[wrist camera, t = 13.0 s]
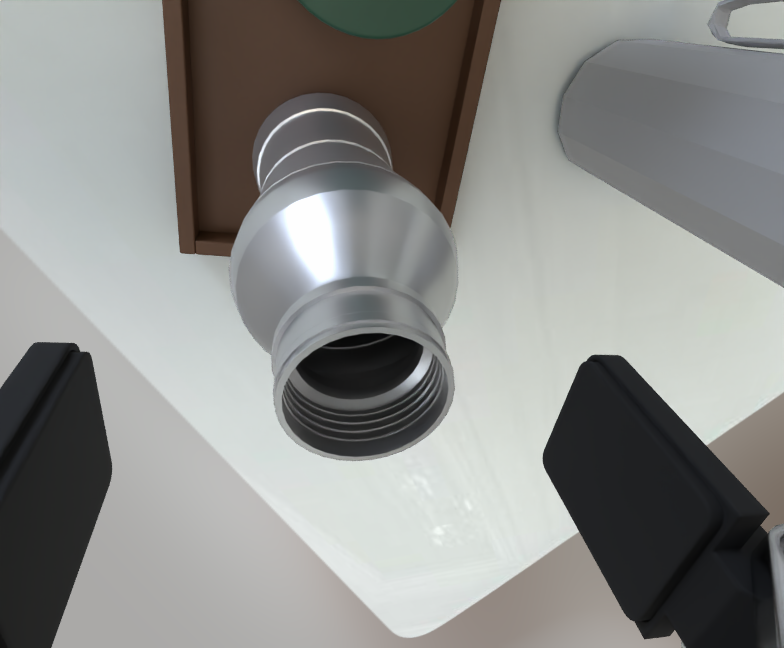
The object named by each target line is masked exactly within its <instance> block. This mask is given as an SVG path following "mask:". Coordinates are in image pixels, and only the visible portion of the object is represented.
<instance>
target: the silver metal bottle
mask: <svg viewBox="0 0 784 648" xmlns="http://www.w3.org/2000/svg"><path fill="white" fill-rule="evenodd" d="M252 160H253V171H254V175H255V178H256V182H257V186H258V189H259V192H260V196H259V198H258V199H257V201H256V202H255V203H254V205H253V206H252V208H251V209H250V211H249V212H248V214H247V215H246V216H245V218H244V220H243V222H242V225H241V227H240V230H239V232H238V235H237V237H236V240H235V242H234V245H233V247H232V251H231V258H230V265H229V277H230V287H231V292H232V295H233V298H234V301H235V304H236V307H237V309H238V312H239V314H240V316H241V318H242V320H243V323H244V324H245V326H246V327H247V329H248V331H249V332H250V334H251V335H252V337H253V339H254V340H255V341H256V342H257V343H258V344H259V345H260V346H261V347H262V348H263V349H264V350H265V351H266V352H267V353H269V354H270V355H271V361H272V372H273V375H274V388H273V397H274V406H275V412H276V415H277V417H278V420H279V423H280V425H281V426H282V428H283V429H284V431H285V432H286V434H287V435H288V436H289V437H290V438H291V439H292V440H293V441H294V442H295V443H297V444H298V445H300V446H301V447H303V448H305V449H306V450H308V451H309V452H312V453H315V454H317V455H320V456H323V457H327V458H331V459H336V460H346V461H362V460H373V459H378V458H382V457H387V456H390V455H393V454H396V453H399V452H402V451H404V450H406V449H408V448H410V447H412V446H413V445H415V444H417V443H418V442H420V441H421V440H423V439H424V438H426V437H427V436H428V435H429V434H430V433H431V432H432V431H434V430H435V429H436V428H437V427H438V426H439V424H440V423H441V422H442V420H443V419H444V417H445V416H446V415H447V413H448V410H449V408H450V406H451V404H452V401H453V396H454V390H455V386H454V374H453V368H452V365H451V362H450V359H449V356H448V354H447V352H446V344H445V336H444V333H443V330H442V327H443V326H444V324H445V323H446V321H447V319H448V318H449V315H450V313H451V310H452V308H453V305H454V303H455V299H456V293H457V287H458V257H457V248H456V244H455V241H454V237H453V234H452V231H451V229H450V227H449V225H448V224H447V222H446V220H445V218H444V217H443V215H442V213H441V212H440V211H439V210H438V209H437V208H436V207H435V205H434V204H433V203H432V202H431V201H430V200H429V199H428V198H427V197H426V196H425V195H424V194H423V193H422V192H421V191H420V189H418V188H417V187H415V186H414V185H413V184H411V183H410V182H408V181H407V180H406V179H404V178H403V177H401V176H400V175H398V174H397V173H395V172H394V171H393V164H392V156H391V149H390V145H389V142H388V139H387V136H386V134H385V132H384V130H383V129H382V127H381V125H380V123H379V122H378V121H377V120H376V119H375V117H374V116H373V115H372V114H371V113H370V112H369V111H368V110H366V109H365V108H364V107H363V106H361V105H360V104H359V103H357V102H354V101H352V100H350V99H348V98H346V97H343V96H339V95H335V94H332V93H312V94H305V95H301V96H298V97H295V98H293V99H290V100H288V101H286V102H285V103H283V104H282V105H280V106H279V107H277V108H276V109H275V110H274V111H273V112H272V113H271V114H270V115H269V116H268V117H267V118H266V119H265V121H264V123H263V124H262V126H261V127H260V129H259V131H258V134H257V136H256V139H255V142H254V147H253V154H252Z"/></svg>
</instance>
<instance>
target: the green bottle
mask: <svg viewBox="0 0 784 648" xmlns="http://www.w3.org/2000/svg"><path fill="white" fill-rule="evenodd" d="M297 1H299V2H300V3H301V4H302V5H303V6H304V7H305V8H306V9H307V10H308V11H309V12H310V13H311V14H313V15H314V16H315V17H317V18H318V19H319V20H320V21H322V22H323V23H325V24H327V25H329V26H330V27H332V28H334V29H336V30H338V31H341V32H343V33H346V34H348V35H352V36H356V37H360V38H367V39H392V38H396V37H401V36H405V35H408V34H411V33H413V32H416V31H418V30H420V29H422V28H424V27H426V26H428V25H429V24H431V23H433V22H434V21H435V20H437V19H438V18H439V17H441V16H442V15H443V14H444V13H445V12H446V11H447V10H448V9H449V8H451V7H452V6H453V5H454V4H455V2H456V1H457V0H297Z"/></svg>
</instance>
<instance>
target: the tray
mask: <svg viewBox="0 0 784 648" xmlns="http://www.w3.org/2000/svg"><path fill="white" fill-rule="evenodd" d="M500 2H501V0H457V1H456V2H455V4H454V5H453V6H452V7H451V8H449V9H448V10H447V11H446V12H445V13H444V14H443V15H442V16H441V17H439V18H438V19H437V20H435V21H434V22H433V23H431V24H429V25H428V26H426V27H424V28H422V29H420V30H418V31H416V32H413V33H411V34H408V35H405V36H401V37H396V38H392V39H367V38H360V37H356V36H352V35H348V34H346V33H343V32H341V31H338V30H336V29H334V28H332V27H330V26H329V25H327V24H325V23H323V22H322V21H320V20H319V19H318V18H317V17H315V16H314V15H313V14H311V13H310V12H309V11H308V10H307V9H306V8H305V7H304V6H303V5H302V4H301V3H300V2H299V1H297V0H162V5H163V19H164V33H165V48H166V62H167V76H168V90H169V104H170V118H171V132H172V147H173V161H174V175H175V189H176V203H177V217H178V232H179V246H180V253H185V254H195V253H196V254H200V255H214V256H229V257H231V251H232V247H233V245H234V242H235V240H236V237H237V235H238V232H239V230H240V227H241V225H242V222H243V220H244V218H245V216H246V215H247V214H248V212H249V211H250V209H251V208H252V206H253V205H254V203H255V202H256V201H257V199H258V198H259V196H260V192H259V189H258V186H257V182H256V178H255V175H254V171H253V160H252V154H253V147H254V142H255V139H256V136H257V134H258V131H259V129H260V127H261V126H262V124H263V123H264V121H265V119H266V118H267V117H268V116H269V115H270V114H271V113H272V112H273V111H274V110H275V109H276V108H277V107H279V106H280V105H282V104H283V103H285V102H286V101H288V100H290V99H293V98H295V97H298V96H301V95H305V94H312V93H332V94H335V95H339V96H343V97H346V98H348V99H350V100H352V101H354V102H357V103H359V104H360V105H361V106H363V107H364V108H365V109H366V110H368V111H369V112H370V113H371V114H372V115H373V116H374V117H375V119H376V120H377V121H378V122H379V123H380V125H381V127H382V129H383V130H384V132H385V134H386V136H387V139H388V142H389V145H390V149H391V156H392V164H393V171H394V172H395V173H397V174H398V175H400V176H401V177H403V178H404V179H406V180H407V181H408V182H410V183H411V184H413V185H414V186H415V187H417V188H418V189H420V191H421V192H422V193H423V194H424V195H425V196H426V197H427V198H428V199H429V200H430V201H431V202H432V203H433V204H434V205H435V207H436V208H437V209H438V210H439V211H440V212H441V213H442V215H443V217H444V218H445V220H446V222H447V224H448V225H449V227H450V228H451V223H452V219H453V214H454V210H455V205H456V201H457V196H458V191H459V187H460V182H461V178H462V173H463V169H464V164H465V160H466V155H467V151H468V146H469V142H470V137H471V133H472V128H473V124H474V119H475V115H476V110H477V106H478V101H479V97H480V92H481V88H482V83H483V79H484V74H485V70H486V65H487V61H488V56H489V52H490V47H491V43H492V38H493V34H494V29H495V25H496V20H497V16H498V11H499V7H500Z"/></svg>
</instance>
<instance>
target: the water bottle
mask: <svg viewBox="0 0 784 648" xmlns="http://www.w3.org/2000/svg"><path fill="white" fill-rule="evenodd" d="M779 1H783V2H784V0H724V1H721V2H718V4H717V6H716V8H715V10H714V12H713V14H712V16H711V18H710V20H709V22H708V26H709V27H710V29H711V32H712V34H713V35H714V36H715V37H716V38H717V39H718V40H720V41H723V42H726V43H729V44H734V45H739V46H745V47H757V48H774V49H784V40H782V39H762V38H742V37H731V36H730V34H729V32H728V30H727V25H728V21H729V17H730V13H731V11H732V10H735V9H738V8H741V7H744V6H747V5H750V4H759V3H769V2H779ZM558 134H559V136H560V139H561V142H562V144H563V147H564V149H565V152H566V155H567V157H568V160H569V161H571V162H573V163H574V164H576V165H577V166H579V167H581V168H582V169H584V170H585V171H587V172H589V173H590V174H592V175H594V176H595V177H597V178H599V179H600V180H602V181H604V182H605V183H607V184H609V185H611V186H612V187H614V188H616V189H617V190H619V191H621V192H622V193H624V194H626V195H628V196H629V197H631V198H633V199H634V200H636V201H638V202H639V203H641V204H643V205H644V206H646V207H648V208H650V209H651V210H653V211H655V212H656V213H658V214H660V215H661V216H663V217H665V218H666V219H668V220H670V221H672V222H673V223H675V224H677V225H678V226H680V227H682V228H683V229H685V230H687V231H689V232H690V233H692V234H694V235H695V236H697V237H699V238H700V239H702V240H704V241H705V242H707V243H709V244H711V245H712V246H714V247H716V248H717V249H719V250H721V251H722V252H724V253H726V254H727V255H729V256H731V257H733V258H734V259H736V260H738V261H739V262H741V263H743V264H744V265H746V266H748V267H749V268H751V269H753V270H755V271H756V272H758V273H760V274H761V275H763V276H765V277H766V278H768V279H770V280H772V281H773V282H775V283H777V284H778V285H780V286H782V287H783V288H784V54H780V53H771V52H762V51H753V50H744V49H735V48H726V47H717V46H708V45H699V44H690V43H682V42H673V41H664V40H655V39H638V40H617V41H616V42H614V43H613V44H611V45H609V46H608V47H606V48H605V49H603V50H602V51H600V52H599V53H597V54H596V55H594V56H593V57H591V58H590V59H588V60H586V61H585V62H584V64H583V65H582V67H581V68H580V70H579V72H578V73H577V75H576V76H575V78H574V79H573V81H572V83H571V84H570V86H569V87H568V89H567V90H566V92H565V94H564V95H563V100H562V107H561V113H560V120H559V126H558Z"/></svg>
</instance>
